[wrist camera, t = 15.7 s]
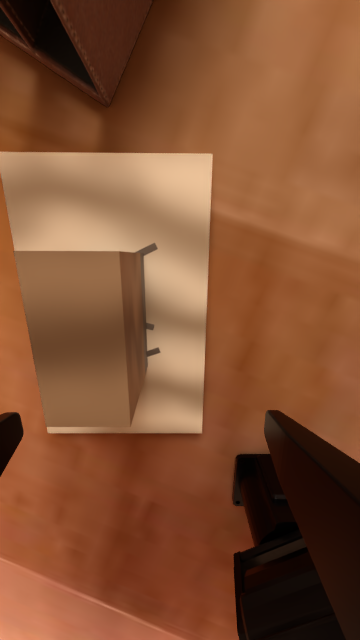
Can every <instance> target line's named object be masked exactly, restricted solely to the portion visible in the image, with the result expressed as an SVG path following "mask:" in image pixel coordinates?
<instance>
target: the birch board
mask: <svg viewBox="0 0 360 640" xmlns="http://www.w3.org/2000/svg"><path fill="white" fill-rule="evenodd" d="M212 155H213V154H184V153H72V152H0V173H1V178H2V184H3V189H4V195H5V200H6V206H7V211H8V217H9V222H10V228H11V233H12V239H13V244H14V249H15V251H122V252H134V253H144V279H145V306H146V332H147V358H148V367H147V371H146V374H145V378H144V381H143V385H142V388H141V392H140V396H139V399H138V403H137V406H136V410H135V413H134V417H133V420H132V424H131V427H47V430H48V433H202V417H203V391H204V365H205V339H206V312H207V286H208V260H209V234H210V207H211V181H212Z"/></svg>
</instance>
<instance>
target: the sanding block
mask: <svg viewBox="0 0 360 640" xmlns="http://www.w3.org/2000/svg"><path fill="white" fill-rule="evenodd" d="M14 256H15V262H16V267H17V272H18V278H19V283H20V289H21V294H22V299H23V305H24V310H25V315H26V321H27V326H28V332H29V337H30V342H31V348H32V353H33V359H34V364H35V369H36V375H37V380H38V385H39V391H40V396H41V402H42V407H43V412H44V418H45V423H46V427H131V424H132V420H133V417H134V413H135V410H136V406H137V403H138V399H139V396H140V392H141V388H142V385H143V381H144V378H145V374H146V371H147V367H148V358H147V332H146V306H145V279H144V253H134V252H122V251H14Z"/></svg>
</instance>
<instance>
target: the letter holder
mask: <svg viewBox="0 0 360 640" xmlns="http://www.w3.org/2000/svg"><path fill="white" fill-rule="evenodd" d="M152 2H153V0H0V35H2V36H3V37H4V38H5V39H7V40H8V41H10V42H12V43H13V44H15V45H16V46H18V47H19V48H20V49H22V50H23V51H25V52H26V53H28V54H29V55H31V56H32V57H34V58H35V59H36V60H38V61H39V62H41V63H43V64H44V65H45V66H47V67H48V68H49V69H51V70H53V71H54V72H55V73H57V74H58V75H60V76H61V77H63V78H64V79H66V80H67V81H69V82H70V83H72V84H73V85H75V86H76V87H78V88H79V89H80V90H81V91H83V92H85V93H87V94H88V95H90V96H91V97H92V98H94V99H95V100H97V101H99V102H100V103H102V104H103V105H105V106H106V107H109V105H110V103H111V100H112V98H113V95H114V93H115V91H116V88H117V85H118V84H119V82H120V78H121V76H122V73H123V71H124V69H125V66H126V64H127V61H128V60H129V58H130V54H131V52H132V50H133V48H134V45H135V42H136V40H137V37H138V35H139V33H140V30H141V28H142V26H143V23H144V21H145V18H146V16H147V14H148V11H149V9H150V7H151V4H152Z"/></svg>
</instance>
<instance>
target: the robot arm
mask: <svg viewBox="0 0 360 640" xmlns="http://www.w3.org/2000/svg"><path fill="white" fill-rule="evenodd" d="M264 434H265V438H266V441H267V444H268V448H269V451H270V454H240V455H238V456H237V457H236V464H235V475H234V486H233V497H232V499H233V504H234V505H235V506H244V507H245V511H246V515H247V519H248V523H249V527H250V530H251V534H252V538H253V542H254V546H255V547H253V548H250V549H248V550H246V551H243V552H240V551H239V552H237V553H234V580H235V598H236V615H237V631H238V636H239V640H360V463H358V462H357V461H355V460H354V459H352V458H351V457H349V456H348V455H346V454H345V453H343V452H342V451H340V450H339V449H337V448H336V447H334V446H332V445H331V444H329V443H328V442H326V441H325V440H323V439H322V438H320V437H319V436H317V435H316V434H314V433H313V432H311V431H310V430H308V429H306V428H305V427H303V426H302V425H300V424H299V423H297V422H296V421H294V420H293V419H291V418H290V417H288V416H287V415H285V414H284V413H282V412H280V411H279V410H268V411H267V412H266V416H265V426H264ZM22 437H23V427H22V422H21V418H20V415H19V413H17V412H7V413H3V414H1V415H0V476H1V475H2V473H3V471H4V469H5V468H6V466H7V464H8V462H9V461H10V459H11V457H12V455H13V454H14V452H15V450H16V448H17V446H18V445H19V443H20V441H21V439H22Z"/></svg>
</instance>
